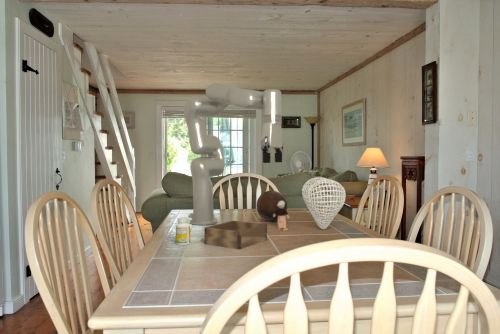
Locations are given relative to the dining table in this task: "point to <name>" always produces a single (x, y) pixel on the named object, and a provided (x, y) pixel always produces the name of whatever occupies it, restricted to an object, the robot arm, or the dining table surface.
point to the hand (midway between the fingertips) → (272, 162)
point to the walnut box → (235, 234)
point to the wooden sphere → (269, 204)
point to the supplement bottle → (183, 231)
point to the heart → (337, 197)
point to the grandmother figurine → (281, 216)
